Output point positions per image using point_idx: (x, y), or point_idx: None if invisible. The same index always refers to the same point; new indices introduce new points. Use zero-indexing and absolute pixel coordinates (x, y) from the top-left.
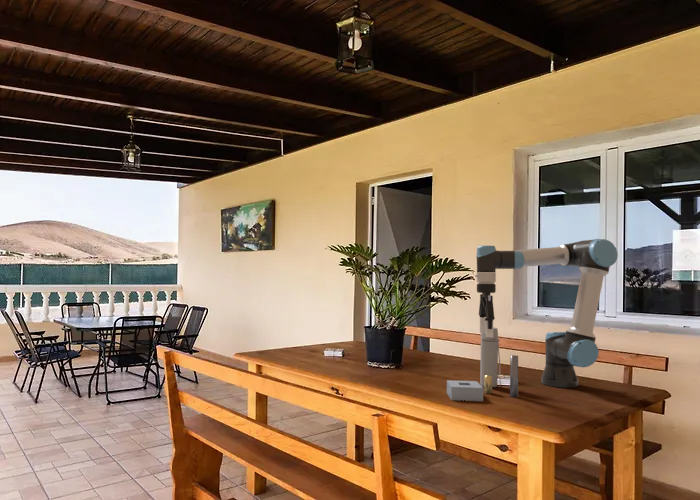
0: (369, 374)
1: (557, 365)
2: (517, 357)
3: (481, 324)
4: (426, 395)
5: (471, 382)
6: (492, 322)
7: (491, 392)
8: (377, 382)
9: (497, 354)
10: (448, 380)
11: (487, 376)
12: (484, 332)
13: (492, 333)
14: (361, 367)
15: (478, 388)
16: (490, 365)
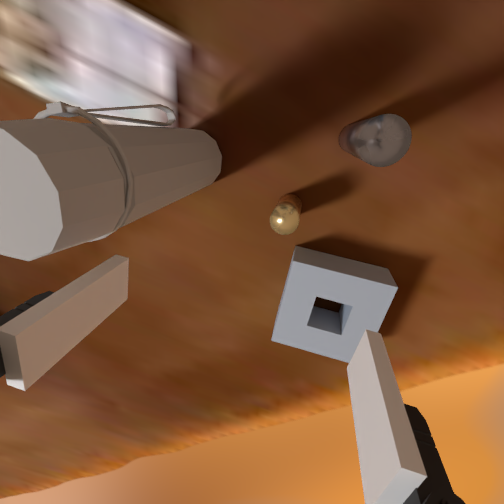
0: (84, 396)
1: None
2: (407, 128)
3: (80, 331)
4: (296, 371)
5: (310, 286)
6: (416, 458)
7: (299, 199)
8: (163, 410)
9: (147, 131)
10: (273, 337)
11: (295, 229)
12: (124, 274)
13: (386, 360)
14: None
15: (391, 299)
16: (194, 176)
